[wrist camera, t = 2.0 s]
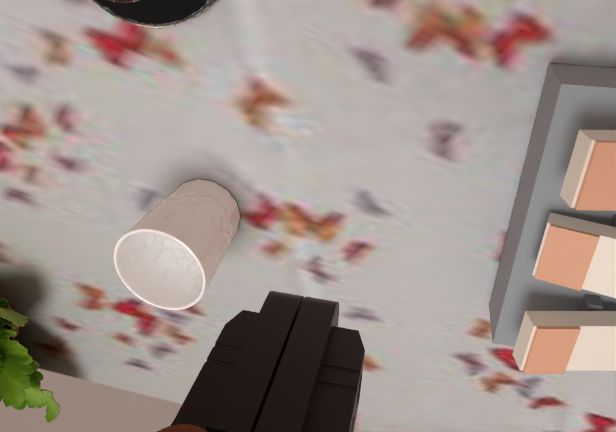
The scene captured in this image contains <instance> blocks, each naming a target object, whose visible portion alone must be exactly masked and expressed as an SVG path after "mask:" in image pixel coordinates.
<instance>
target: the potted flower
mask: <svg viewBox="0 0 616 432" xmlns="http://www.w3.org/2000/svg"><path fill="white" fill-rule="evenodd" d="M26 318H27V319H29V318H28V317H26V316H24V315H22V314H20V313H18V312H15V311H13V308H12V307H11V306H10V304H9V302H8V301H7V300H6V299H3V298H2V297H0V401H1V400H2V399H3V402H4V404H5V406H6V407H9V406H11V405H12V407H14V408H15V409H17V410H22V409H24V408H25V406H26V403H27V405H28V407H29V408H34V407H37V408H41V407H44V406H46V405H47V410H46V412H47V413H46V416H45V417H46V421H47V422H48V423H50V422H52V421H54V420H55V419H56V418H57V416H58V414H59V413H60V405H59V404H58V403H57V402H55V400H54V398H53V393H52V392H51V391H48V390H41V389H40V381H41V380H42V379H43V375H42V374H41V373H40V372H38V371H36V369H38V368H39V364H38V363H37V362H36V361H34V360H32V357H31V356H30V355H29V354H27V352H28V350H27V348H25V347H23V345H21V344H19V341H13V340H14V339H15V338H16V336H17V335H18V333H19V327H20V326H23V327H24V326H25V324H24V323H28V320H27V319H26Z"/></svg>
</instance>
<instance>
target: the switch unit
mask: <svg viewBox="0 0 616 432" xmlns="http://www.w3.org/2000/svg"><path fill="white" fill-rule="evenodd" d="M579 130H616V68H609V67H595V66H581V65H567V64H554V63H549V66H548V70H547V74H546V78H545V82H544V86H543V90H542V94H541V98H540V102H539V106H538V110H537V114H536V118H535V123H534V127H533V131H532V135H531V139H530V143H529V147H528V151H527V155H526V159H525V163H524V167H523V171H522V175H521V179H520V183H519V187H518V191H517V195H516V199H515V203H514V207H513V211H512V215H511V219H510V223H509V227H508V231H507V235H506V239H505V243H504V247H503V251H502V255H501V259H500V263H499V267H498V271H497V275H496V279H495V283H494V287H493V292H492V296H491V300H490V304H489V308H490V319H491V330H492V341H493V343H496V344H502V345H508V346H514V347H515V344H516V341H517V338H518V334H519V331H520V328H521V324H522V321H523V317H524V314H525V311H616V298H613V297H609V296H606V295H602V294H599V293H595V292H591V291H588V290H584V289H581V291H579V290H575V289H571V288H568V287H564V286H561V285H557V284H553V283H550V282H546V281H543V280H539V279H535V276H533V275H532V274H533V270H534V266H535V262H536V259H537V256H538V252H539V249H540V245H541V242H542V238H543V235H544V232H545V228H546V225H547V221H548V218H549V214H550V212H551V213H555V214H560V215H564V216H568V217H573V218H577V219H581V220H586V221H590V222H594V223H599V224H603V225H608V226H612V227H616V211H615V210H576V209H575V208H571V207H570V206H569V205H568V204H567V203H566V202H565V200H564V199H563V198H562V197H561V196H560V193H561V189H562V186H563V183H564V179H565V176H566V172H567V169H568V166H569V162H570V159H571V156H572V152H573V149H574V145H575V142H576V139H577V135H578V132H579Z"/></svg>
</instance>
